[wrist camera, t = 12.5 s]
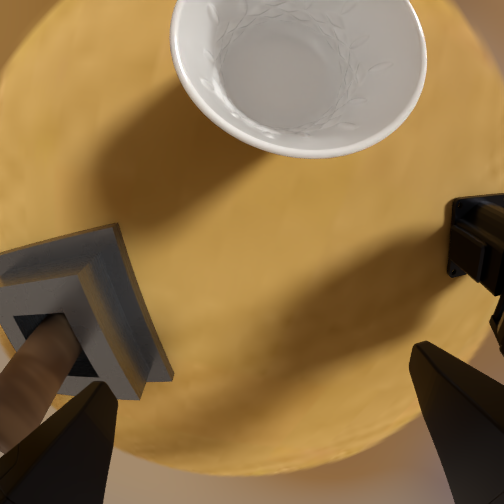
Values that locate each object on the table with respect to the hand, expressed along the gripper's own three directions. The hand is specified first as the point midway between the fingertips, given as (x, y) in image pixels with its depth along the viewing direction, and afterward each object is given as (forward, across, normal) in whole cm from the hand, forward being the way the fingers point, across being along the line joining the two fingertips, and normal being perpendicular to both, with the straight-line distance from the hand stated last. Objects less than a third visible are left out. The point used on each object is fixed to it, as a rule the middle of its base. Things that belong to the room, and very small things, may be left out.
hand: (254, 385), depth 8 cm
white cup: (+13, -3, -9) cm, 16 cm away
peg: (+12, +16, +5) cm, 21 cm away
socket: (+13, +16, +5) cm, 21 cm away
